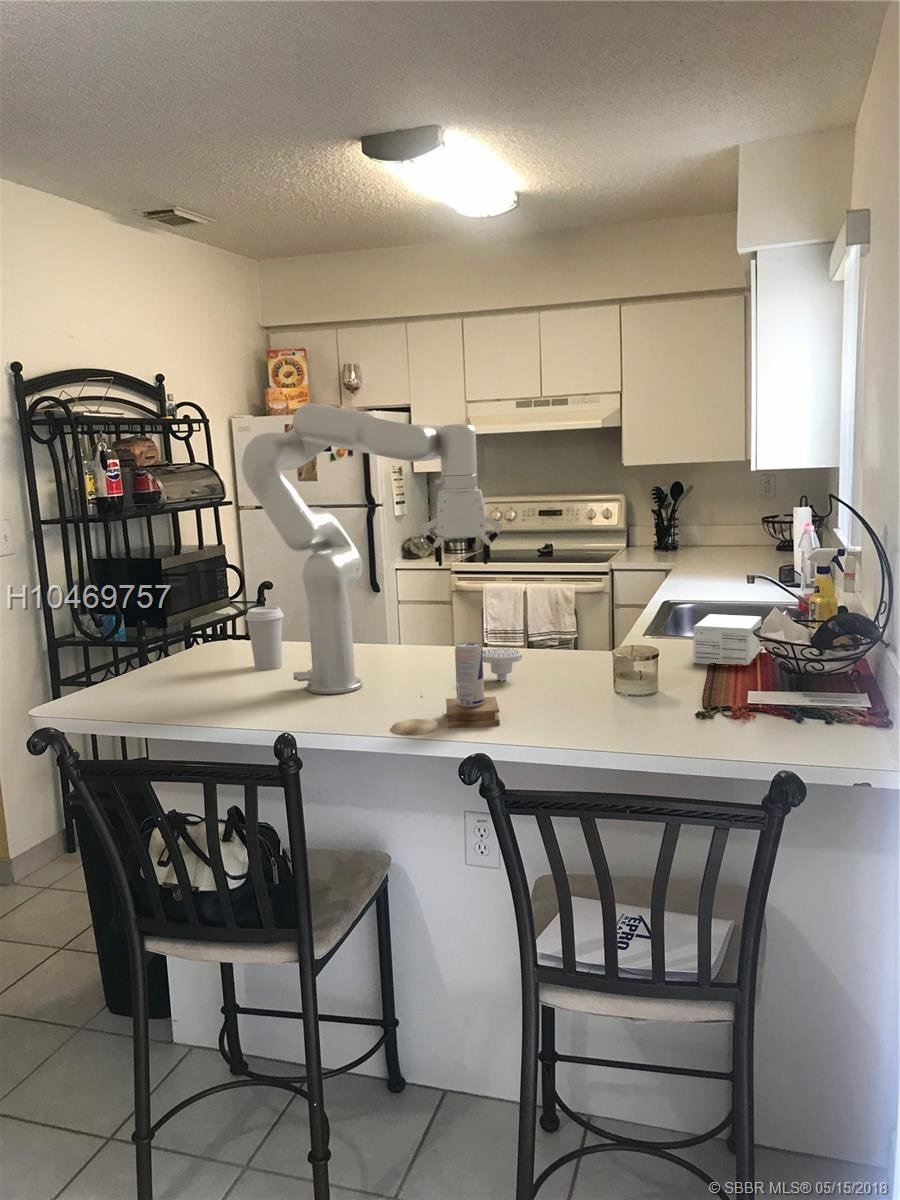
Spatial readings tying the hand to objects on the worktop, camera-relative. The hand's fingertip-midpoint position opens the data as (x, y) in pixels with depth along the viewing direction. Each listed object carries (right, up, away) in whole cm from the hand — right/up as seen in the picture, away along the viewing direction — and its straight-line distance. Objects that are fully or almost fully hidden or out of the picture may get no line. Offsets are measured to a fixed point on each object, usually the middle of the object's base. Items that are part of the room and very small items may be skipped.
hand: (462, 564), depth 201 cm
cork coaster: (-9, -33, -19) cm, 39 cm away
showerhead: (+9, -26, +15) cm, 31 cm away
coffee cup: (-49, -25, +37) cm, 66 cm away
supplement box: (+65, -22, +27) cm, 74 cm away
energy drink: (+1, -28, -16) cm, 32 cm away
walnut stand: (+2, -31, -15) cm, 35 cm away
